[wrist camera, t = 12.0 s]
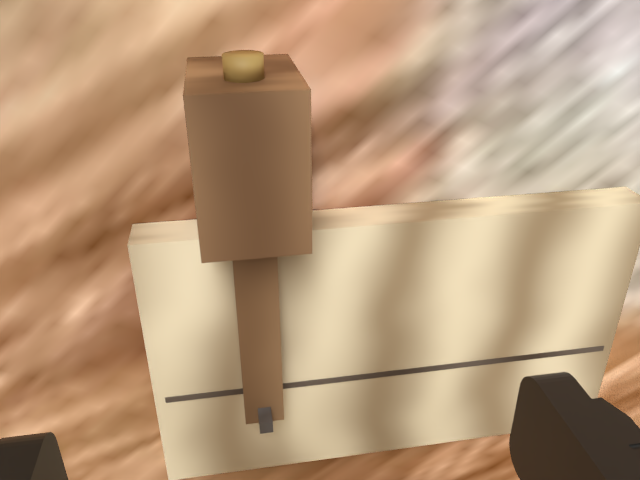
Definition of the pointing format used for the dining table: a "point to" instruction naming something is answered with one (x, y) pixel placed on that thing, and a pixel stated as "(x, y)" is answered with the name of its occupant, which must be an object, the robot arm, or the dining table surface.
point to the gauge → (252, 196)
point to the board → (387, 324)
